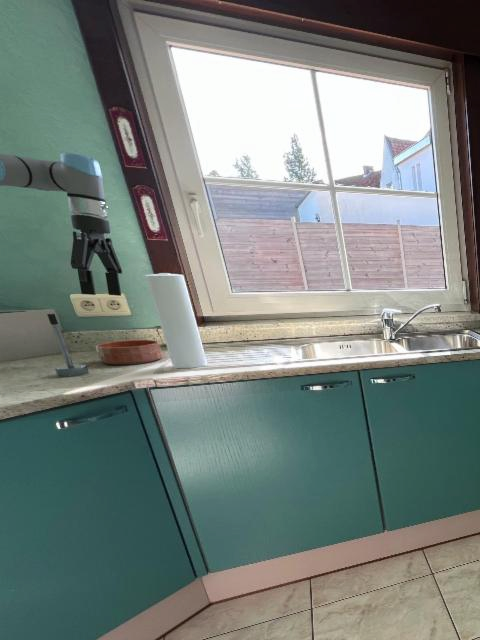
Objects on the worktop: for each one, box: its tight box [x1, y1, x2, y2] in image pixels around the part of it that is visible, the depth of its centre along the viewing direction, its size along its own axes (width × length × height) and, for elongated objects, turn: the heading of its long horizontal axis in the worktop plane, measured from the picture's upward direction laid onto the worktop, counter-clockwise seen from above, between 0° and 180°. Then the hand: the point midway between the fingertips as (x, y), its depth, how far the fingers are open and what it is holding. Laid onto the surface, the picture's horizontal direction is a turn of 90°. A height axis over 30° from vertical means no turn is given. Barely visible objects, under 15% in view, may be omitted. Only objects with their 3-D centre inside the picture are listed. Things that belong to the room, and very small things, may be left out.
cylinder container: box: [145, 272, 208, 369], centre depth 163 cm, size 9×9×30 cm
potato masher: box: [47, 313, 90, 378], centre depth 150 cm, size 7×7×18 cm
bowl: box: [95, 339, 164, 366], centre depth 172 cm, size 16×16×6 cm
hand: (102, 295), depth 143 cm, fingers open, 13 cm apart
